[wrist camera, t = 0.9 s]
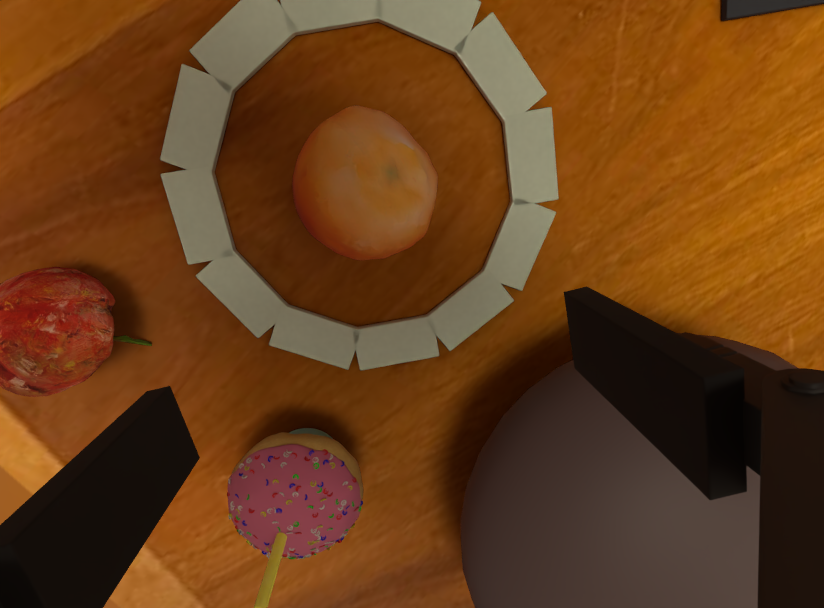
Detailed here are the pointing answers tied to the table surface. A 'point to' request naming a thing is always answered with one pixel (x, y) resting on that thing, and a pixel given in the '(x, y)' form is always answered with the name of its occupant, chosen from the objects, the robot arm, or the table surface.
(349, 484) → the cupcake
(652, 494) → the smooth stone
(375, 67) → the table surface
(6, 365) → the pomegranate
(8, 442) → the table surface
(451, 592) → the table surface
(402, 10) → the segmented grey ring
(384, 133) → the fruit
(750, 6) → the mat
